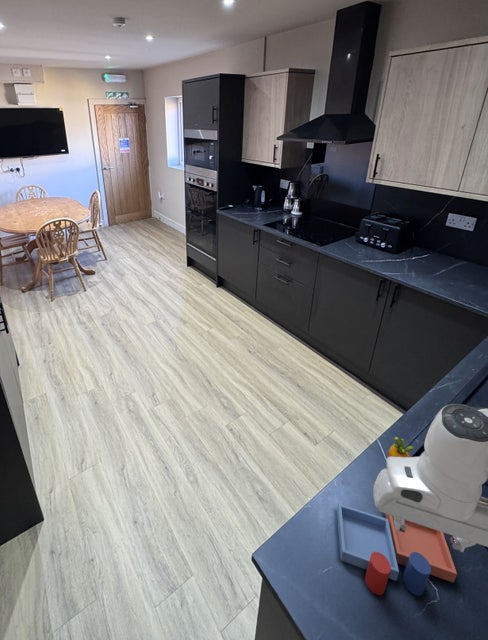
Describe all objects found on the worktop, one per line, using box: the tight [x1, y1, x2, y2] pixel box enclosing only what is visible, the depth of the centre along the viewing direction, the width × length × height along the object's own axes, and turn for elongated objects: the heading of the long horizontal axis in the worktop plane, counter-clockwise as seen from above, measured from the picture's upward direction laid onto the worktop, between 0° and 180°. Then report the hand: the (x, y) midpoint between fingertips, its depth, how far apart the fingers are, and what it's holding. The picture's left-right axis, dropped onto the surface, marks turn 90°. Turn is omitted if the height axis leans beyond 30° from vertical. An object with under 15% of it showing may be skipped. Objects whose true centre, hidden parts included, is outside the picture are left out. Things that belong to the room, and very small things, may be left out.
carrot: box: [385, 436, 414, 468], centre depth 84 cm, size 5×5×15 cm
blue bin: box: [336, 503, 400, 582], centre depth 73 cm, size 11×10×3 cm
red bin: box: [384, 513, 458, 583], centre depth 73 cm, size 11×10×3 cm
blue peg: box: [402, 552, 431, 596], centre depth 66 cm, size 4×4×7 cm
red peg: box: [364, 552, 391, 596], centre depth 66 cm, size 4×4×7 cm
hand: (426, 536), depth 63 cm, fingers open, 8 cm apart
